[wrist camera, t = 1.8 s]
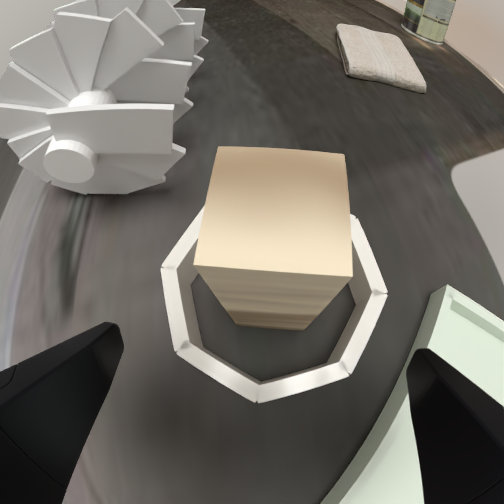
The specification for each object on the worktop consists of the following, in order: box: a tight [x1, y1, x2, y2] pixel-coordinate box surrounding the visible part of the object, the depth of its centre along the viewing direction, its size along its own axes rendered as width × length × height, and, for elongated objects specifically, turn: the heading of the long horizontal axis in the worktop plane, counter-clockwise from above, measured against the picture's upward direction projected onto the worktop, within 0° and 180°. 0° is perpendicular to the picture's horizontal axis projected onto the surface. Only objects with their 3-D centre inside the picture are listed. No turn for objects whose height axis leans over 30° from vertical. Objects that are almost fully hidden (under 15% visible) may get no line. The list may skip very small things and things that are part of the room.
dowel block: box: [193, 147, 353, 331], centre depth 14 cm, size 4×4×12 cm
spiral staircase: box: [0, 0, 208, 195], centre depth 20 cm, size 18×18×25 cm
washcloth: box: [336, 24, 426, 93], centre depth 31 cm, size 12×18×3 cm, turn 174°
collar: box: [161, 206, 388, 403], centre depth 18 cm, size 13×13×4 cm
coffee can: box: [401, 0, 456, 45], centre depth 32 cm, size 10×10×14 cm
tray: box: [320, 285, 504, 504], centre depth 13 cm, size 20×16×2 cm
